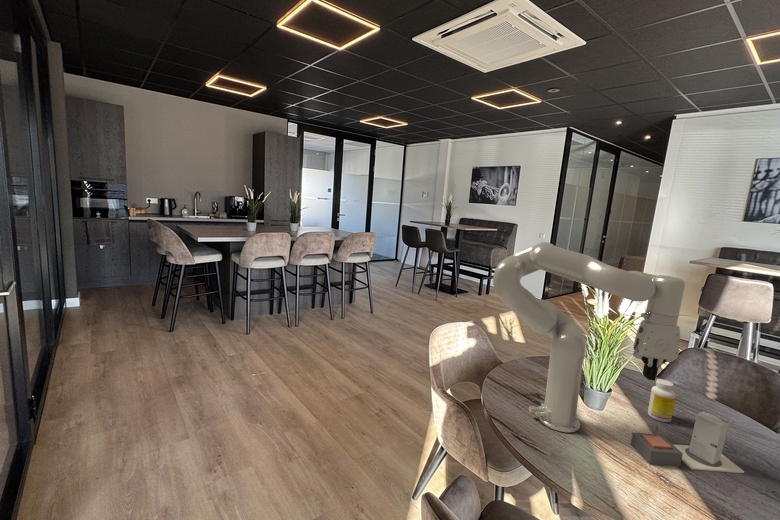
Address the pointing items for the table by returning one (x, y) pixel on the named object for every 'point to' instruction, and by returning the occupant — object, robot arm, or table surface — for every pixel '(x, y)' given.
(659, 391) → the supplement bottle
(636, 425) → the table surface
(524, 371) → the table surface
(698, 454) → the skincare box
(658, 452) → the button housing
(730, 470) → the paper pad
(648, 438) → the button
